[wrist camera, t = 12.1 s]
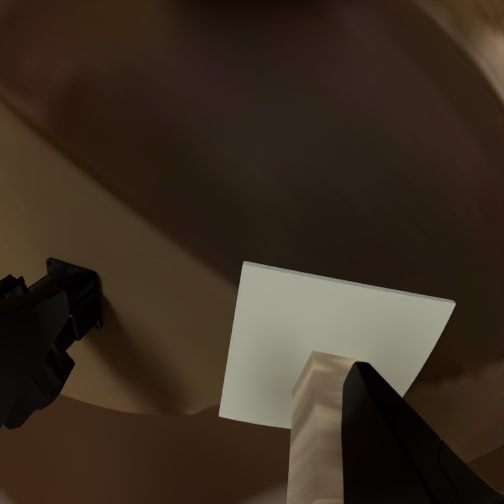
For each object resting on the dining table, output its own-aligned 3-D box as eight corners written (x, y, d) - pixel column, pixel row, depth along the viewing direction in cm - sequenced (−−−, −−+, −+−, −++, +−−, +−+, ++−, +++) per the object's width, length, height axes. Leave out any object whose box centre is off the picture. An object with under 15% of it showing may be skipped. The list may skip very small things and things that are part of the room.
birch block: (292, 388, 24) (285, 519, 12) (312, 350, 22) (317, 498, 10) (341, 397, 24) (353, 519, 12) (365, 360, 22) (395, 495, 10)
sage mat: (219, 412, 27) (218, 416, 27) (244, 260, 21) (242, 264, 20) (374, 429, 26) (374, 433, 26) (452, 300, 20) (455, 303, 19)
